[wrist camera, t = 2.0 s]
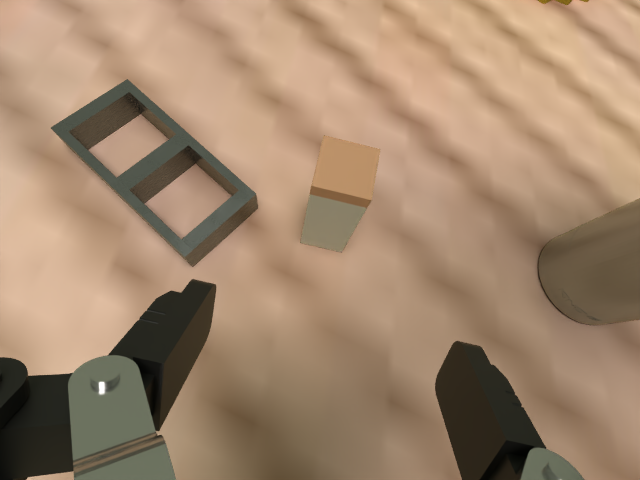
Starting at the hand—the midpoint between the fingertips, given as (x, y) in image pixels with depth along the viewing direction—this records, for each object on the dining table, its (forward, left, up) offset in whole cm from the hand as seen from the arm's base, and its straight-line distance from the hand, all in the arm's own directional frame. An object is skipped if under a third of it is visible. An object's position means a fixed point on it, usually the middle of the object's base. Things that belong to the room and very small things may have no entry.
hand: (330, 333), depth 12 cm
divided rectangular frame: (-3, -20, -19) cm, 28 cm away
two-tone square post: (-10, -6, -20) cm, 23 cm away
